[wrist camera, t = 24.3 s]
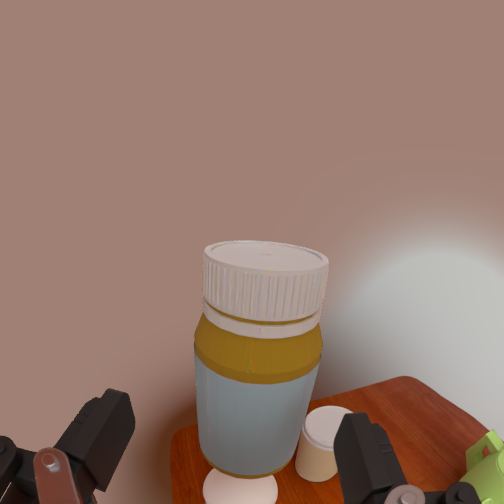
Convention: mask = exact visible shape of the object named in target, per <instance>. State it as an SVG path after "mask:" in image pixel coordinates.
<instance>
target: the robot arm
mask: <svg viewBox="0 0 504 504" xmlns="http://www.w3.org/2000/svg"><path fill="white" fill-rule="evenodd" d="M134 429H135V417H134V414H133V410H132V406H131V402H130V398H129V395H128V394H127V393H125V392H121V391H118V390H114V389H110V388H109V389H107V390H106V391H105V393H104V394H103V396H102V397H101V398H97V397H95V398H93V399H92V400H90V401H88V402H87V403H85V405H84V406H83V407H82V409H81V410H80V412H79V414H77V416H76V417H75V419H74V421H72V422H71V424H70V425H69V427H68V428H67V430H66V431H65V432H64V434H63V435H62V436H61V438H60V439H59V440H58V442H57V443H56V445H55V446H54V447H53V448H44V449H41V450H40V451H39V452H32V451H28V450H24V449H21V448H17V447H16V445H15V444H14V443H13V441H12V440H11V439H10V438H8V437H6V436H0V499H1V497H2V496H3V494H4V492H5V490H6V489H7V487H8V485H9V484H10V482H11V484H10V486H9V488H8V489H7V491H6V493H5V495H4V496H3V498H2V500H1V502H0V504H97V501H96V499H95V496H94V494H93V492H94V490H95V489H98V490H100V491H103V492H105V491H106V489H107V486H108V485H109V482H110V480H111V478H112V476H113V474H114V472H115V470H116V467H117V466H118V463H119V461H120V459H121V457H122V455H123V453H124V451H125V449H126V446H127V445H128V443H129V441H130V439H131V437H132V435H133V432H134ZM333 451H334V456H335V460H336V465H337V469H338V474H339V479H340V483H341V488H342V493H343V498H344V503H345V504H481V501H480V499H479V497H478V494H477V492H476V490H475V488H474V487H473V486H472V485H471V484H470V483H467V482H456V483H454V484H452V485H451V486H450V487H449V488H448V489H447V490H446V491H437V492H422V491H421V489H419V488H418V487H416V486H413V485H409V484H408V483H407V481H406V479H405V477H404V474H403V472H402V469H401V467H400V464H399V462H398V459H397V457H396V454H395V452H393V447H392V445H391V444H390V440H389V438H388V436H387V433H386V431H385V430H383V429H382V428H381V427H380V426H379V425H378V424H377V423H375V424H371V423H370V421H369V418H368V416H367V414H366V413H365V412H357V413H346V414H344V416H343V419H342V421H341V423H340V426H339V428H338V431H337V433H336V435H335V438H334V443H333Z"/></svg>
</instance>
